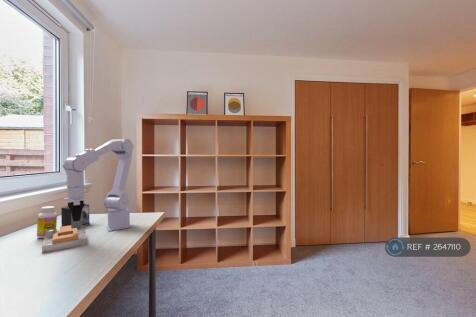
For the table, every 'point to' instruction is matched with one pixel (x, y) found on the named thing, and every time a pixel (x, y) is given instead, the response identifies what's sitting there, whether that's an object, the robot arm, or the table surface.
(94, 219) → the table surface
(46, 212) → the supplement bottle
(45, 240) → the peg hole board
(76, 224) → the grey metal square peg
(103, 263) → the table surface
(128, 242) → the table surface
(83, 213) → the small box
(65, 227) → the bracket
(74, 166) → the robot arm
